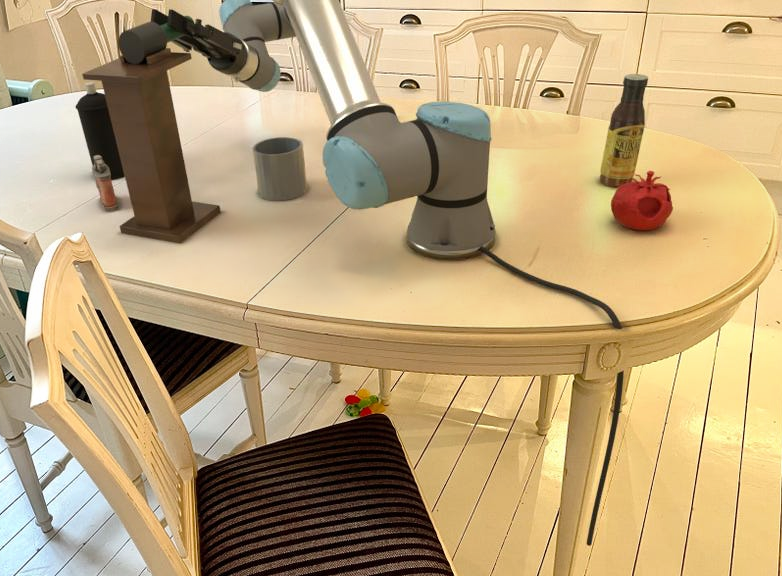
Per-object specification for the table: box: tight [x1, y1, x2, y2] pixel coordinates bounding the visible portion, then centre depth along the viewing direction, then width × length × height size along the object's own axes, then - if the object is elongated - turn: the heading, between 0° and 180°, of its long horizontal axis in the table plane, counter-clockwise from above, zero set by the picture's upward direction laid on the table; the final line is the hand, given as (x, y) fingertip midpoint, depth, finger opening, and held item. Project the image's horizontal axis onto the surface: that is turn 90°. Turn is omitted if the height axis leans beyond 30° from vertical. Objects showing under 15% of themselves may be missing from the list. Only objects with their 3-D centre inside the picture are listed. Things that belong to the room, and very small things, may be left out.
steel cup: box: [252, 136, 308, 202], centre depth 150 cm, size 10×10×10 cm
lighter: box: [91, 155, 119, 212], centre depth 152 cm, size 8×3×10 cm, turn 22°
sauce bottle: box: [599, 73, 649, 188], centre depth 138 cm, size 6×6×20 cm
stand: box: [81, 47, 222, 244], centre depth 136 cm, size 15×14×31 cm
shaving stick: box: [118, 15, 195, 64], centre depth 131 cm, size 17×5×5 cm, turn 153°
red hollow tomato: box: [610, 170, 674, 231], centre depth 127 cm, size 10×10×9 cm
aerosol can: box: [74, 81, 125, 181], centre depth 163 cm, size 8×8×20 cm
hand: (161, 17), depth 130 cm, fingers closed on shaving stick, 3 cm apart
